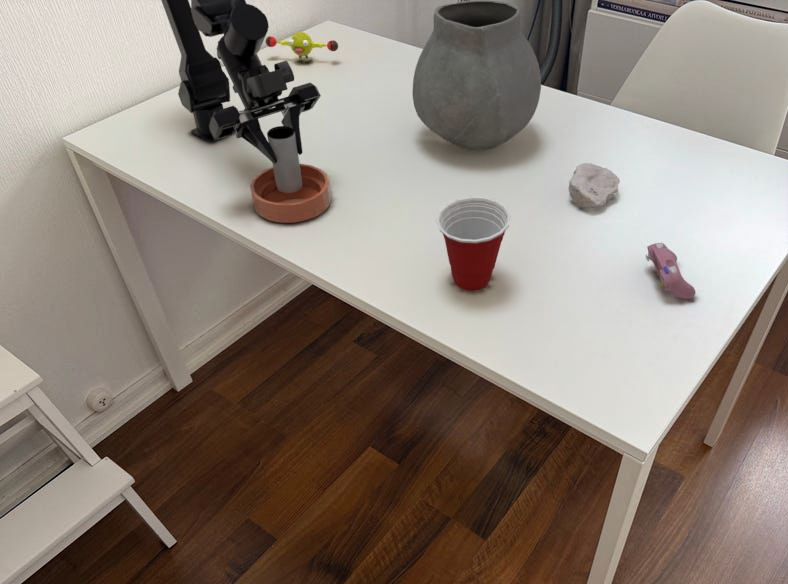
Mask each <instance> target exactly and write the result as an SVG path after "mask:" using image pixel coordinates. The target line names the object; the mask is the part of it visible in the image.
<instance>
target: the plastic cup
mask: <svg viewBox="0 0 788 584" xmlns="http://www.w3.org/2000/svg"><path fill="white" fill-rule="evenodd" d="M511 217H512V215H511V213H510V212H509V209H508V207H507V206H505V205H504V204H503V203H501V202H500V201H499V200H496V199H492V198H489V197H485V196H467V197H463V198H457V199H455V200H452V201H451V202H448V203H446V204H445V205H444V206H443V207H442V208H441V209H440V210H439V211H438V213H437V217H436V221H435V222H436V225H437V227H438V230H439V232H440V233H442V235H443V238H444V242H445V243H444V244H445V248H446V253H447V258H448V263H449V266H450V272H451V277H452V281H453V282H454V285H455V286H456V287H458V288H459V289H461V290H462V291H467V292H477V291H481V290H483V289H485V288H487V286H488V285H489V283H490V282H491V280H492V279H491V277H492V274H493V272H494V269H495V268H496V267H495V266H496V263H497V259H498V255H499V252H500V248H501V245H502V242H503V238H504V236H505V233H506V231H507V229H508V228H509V226H510V221H511Z"/></svg>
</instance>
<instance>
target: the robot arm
mask: <svg viewBox="0 0 788 584" xmlns="http://www.w3.org/2000/svg"><path fill="white" fill-rule="evenodd" d="M161 4H162V6H163V9H164V12H165V15H166V17H167V20H168V23H169V25H170V28H171V31H172V34H173V37H174V39H175V42H176V44H177V47H178V50H179V53H180V61H179V67H178V74H179V78H180V83H179V89H178V93H177V95H178V98H179V100H180V103H181V105H182V106H183V108H184V109H186V110H187V111H188V112H189V113H190V114H192V115H193V120H194V123H195V126H196V127H195V128H194V129H191V130H190V132H191V134H192V135H194V136H196V137H199V138H201V139H203V140H205V141H208V142H211V143H212V142H215V141H218V140H221V139H224V138H227V137H230V136H232V135H233V132H235V131H236V133H235V138H236V139H241V138H242V139H243V140H244V141H246V142H247V143H249V144H250V145H252V146H253V147H254V148H255V149H257V150H258V151H259V152H260V153H261V154H262V155H263V156H265V157H266V158H267V159H268V160H269V161H270V162H271V163H272V162H273V163H274V164H275V163H277V159H276V156H275V154H274V152H273V150H272V148H271V146H270V145H269V142H268V138H266V136H265V134H264V132H263V130H262V127H261V124H260V121H259V119H261V118H265V117H268V116H272V115H274V114H278V113H280V112H281V115H282V117H283V118H282V120H281V121H280V122H281V124H282V126H287V127H291V128H292V129H293V130H294V131H295V137H296V144H297V151H298V156H301V155H302V154H303V146H302V144H303V143H302V138H301V129H300V116H301V114H302V113H306V112H308V111H310V110H312V109H314V107H315V106H316V104H317V102H318V101H319V99H320V98H321V96H322V95H321V94H320V91H319V89H318V86H316V85H314V84H313V83H312V82H307V83H303V84H301V85H297V86H293V87H292V88H291V91H290V92H289V94H288V96H285V97H281V98H279V97H280V96H282V94H283V92H284V91H288V86H287V84H288V83H292V82H294V81H295V75H294V72H293V69H292V67H291V64H290V63H289V62H288V60H284V61H279V62H277V63H274V65H273V67H274V70H272V71H270V70H269V68H268V67H267V65H266V64H262V62H261V59H260V57H259V56H258V53H259V52H260V50H261V48H262V45H263V43H264V41H265V39H266V37H267V34H268V31H269V21H268V17H267V16H266V14H265V13H263V11H262V10H260V8H258V7H257V6H255V5H253V4H250V3H247V2H246V0H190V1H189V0H161ZM200 32H201V33H202V34H203V35H204V36H205V37H209V38H211V37H212V38H213V37H216V36H221V35H222V36H221V37H220V39H219V40H218V41H217V46H216V56H217V57H215V56H213V55H212V54H211V53H210V52H208V50H207V49H206V47H205V44H204V40H203V39H202V38H203V37H202V34H201V33H200ZM220 60H221V62H222V63H221V62H220ZM222 64H223V66H224V68H225V70H226V72H227V74H228V76H227V74H226V73H225V72H224V70H223V68H222ZM229 78H230V79H229ZM230 80H231V82H232V90H233V92H234V93H235V94H238V97H239V99H240V101H241V103H242V105H243V107H244V109H242V110H238V108H237V107H236V106H235V105H230V106H227V107H224V105H223V104H224V103H229V102H231V92H230V91H231V90H230V89H231V88H230Z"/></svg>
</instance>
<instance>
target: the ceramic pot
mask: <svg viewBox="0 0 788 584" xmlns="http://www.w3.org/2000/svg"><path fill="white" fill-rule="evenodd" d="M412 79H413V80H412V92H411V93H412V101H413V107H414V109H415V112H416V115H417V116H418V118H419V119H420V121H421V122H422V123H423V125H425V127H427V128H428V129H429V130H430V131H431V132H433V133H434V134H435V135H437V136H439V137H440V138H441V139H443V140H445V141H446V142H448V143H449V144H450V145H452V146H455V147H458V148H461V149H465V150H469V151H487V150H492V149H495V148H498V147H500V146H502V145H503V144H505V143H506V142H508V141H510V140H511V139H513V138H514V137H515V136H517V135H518V134H519V133H520V132H521V131H523V130H524V129H525V128H526V127H527V126H528V124H530V122H531V120H532V119H533V117H534V115H535V113H536V110H537V108H538V106H539V102H540V98H541V96H540V95H541V90H542V77H541V70H540V64H539V61H538V58H537V56H536V54H535V51H534V49H533V47H532V45H531V43H530V42H529V41H528V39H527V38H526V37H525V35H524V33H523V32H522V30H521V12H520V8H518V6H516V5H515V4H513V3H510V2H506V1H501V0H461V1H456V2H454V3H453V2H452V3H448V4H442V5H439V6H437V7H436V8H435V9H434V12H433V30H432V32H431V34H430V36H429V38H428V39H427V41H426V42H425V45H424V47H423V49H422V51H421V52H420V55H419V57H418V60H417V62H416V65H415V69H414V73H413V78H412Z"/></svg>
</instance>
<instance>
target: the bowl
mask: <svg viewBox="0 0 788 584" xmlns="http://www.w3.org/2000/svg"><path fill="white" fill-rule="evenodd" d="M299 164H300V171H301V177H302V188H301V189H300V190H299V191H297V192H294V193H283V192H280V191H279V190H278V189H277V186H276V181H275V175H274V170H273V166H271V167H269V168H266V169H265V170H262V171H260V172H259V173H258V174H256V176H255V177H254V178H253V179H252V180H251V183H250V185H249V188H250V193H251V198H252V202H253V206H254V210H255V212H256V213H257V214H258V215H259V216H260V217H262V218H264V219H265V220H267V221H270V222H275V223H282V224H283V223H285V224H288V223H289V224H291V223H292V224H293V223H299V222H304V221H308V220H311V219H313V218H316V217H318V216H319V215H321V214H323V213H324V212H325V211H326V210H327V209H328V208H329V206H330V204H331V199H332V195H331V194H332V193H331V186H330V179H329V178H328V175H327V173H326V172H325V171H323V170H322V169H321V168H318V167H316V166H314V165H311V164H306V163H299Z"/></svg>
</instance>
